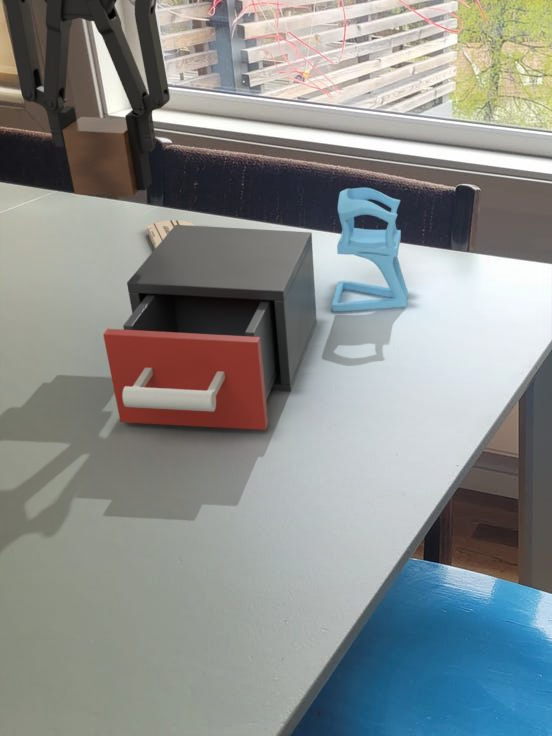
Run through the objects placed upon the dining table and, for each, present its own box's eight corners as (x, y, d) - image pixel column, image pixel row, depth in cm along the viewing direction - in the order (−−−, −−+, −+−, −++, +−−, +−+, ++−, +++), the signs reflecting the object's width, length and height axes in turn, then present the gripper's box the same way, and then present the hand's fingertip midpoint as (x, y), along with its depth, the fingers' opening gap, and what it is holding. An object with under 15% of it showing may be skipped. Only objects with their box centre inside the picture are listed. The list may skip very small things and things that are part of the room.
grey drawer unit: (291, 394, 94) (283, 291, 88) (144, 386, 94) (126, 282, 88) (316, 326, 107) (311, 232, 101) (188, 319, 107) (175, 224, 101)
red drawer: (252, 462, 82) (243, 372, 77) (99, 454, 81) (79, 363, 76) (295, 356, 98) (289, 276, 93) (167, 349, 98) (154, 269, 93)
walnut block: (74, 194, 95) (62, 130, 92) (92, 178, 100) (81, 116, 96) (133, 197, 95) (123, 133, 92) (148, 181, 100) (139, 119, 96)
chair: (406, 316, 110) (406, 203, 103) (331, 313, 110) (325, 199, 102) (409, 291, 116) (410, 182, 109) (338, 288, 116) (333, 178, 108)
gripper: (-73, -117, 79) (1, 190, 94) (161, -103, 80) (199, 200, 95) (-35, -120, 85) (29, 169, 100) (183, -107, 86) (215, 179, 100)
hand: (112, 184), depth 97 cm, fingers closed on walnut block, 6 cm apart
